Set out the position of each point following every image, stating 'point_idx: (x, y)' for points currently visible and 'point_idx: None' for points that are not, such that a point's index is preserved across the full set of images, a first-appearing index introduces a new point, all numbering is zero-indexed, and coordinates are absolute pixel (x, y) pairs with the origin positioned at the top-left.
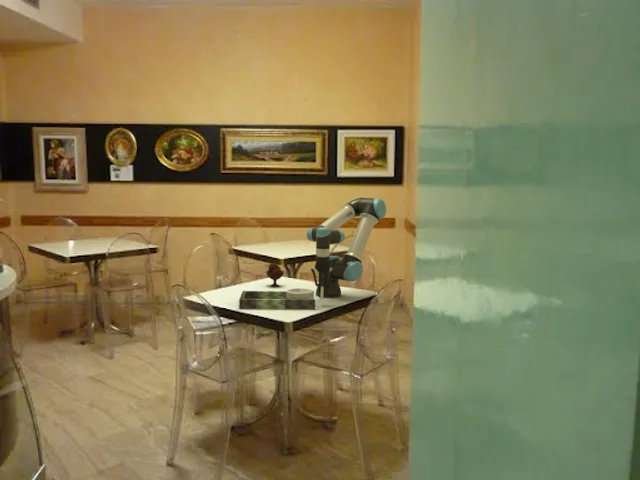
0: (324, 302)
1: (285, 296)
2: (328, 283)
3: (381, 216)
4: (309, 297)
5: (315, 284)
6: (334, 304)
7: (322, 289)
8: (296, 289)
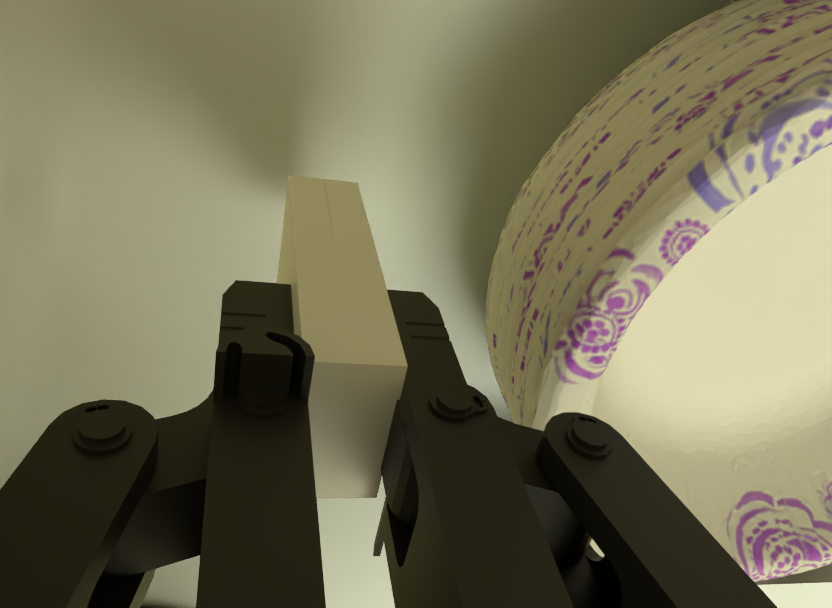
0: None
1: None
2: (55, 494)
3: None
4: (725, 57)
5: (634, 456)
6: (12, 181)
7: (337, 318)
8: (794, 541)
